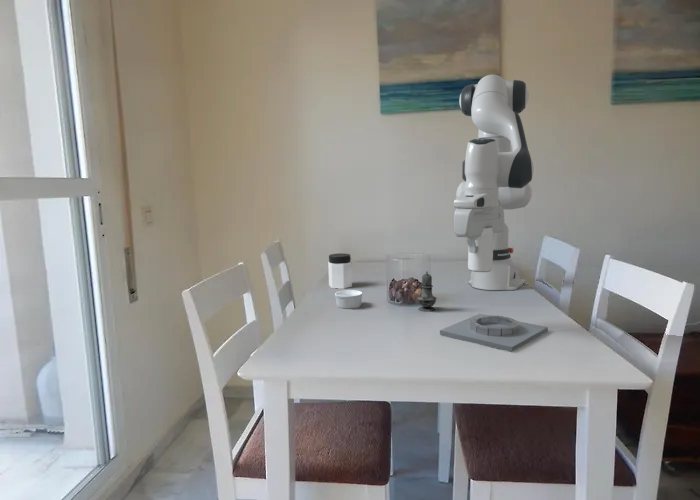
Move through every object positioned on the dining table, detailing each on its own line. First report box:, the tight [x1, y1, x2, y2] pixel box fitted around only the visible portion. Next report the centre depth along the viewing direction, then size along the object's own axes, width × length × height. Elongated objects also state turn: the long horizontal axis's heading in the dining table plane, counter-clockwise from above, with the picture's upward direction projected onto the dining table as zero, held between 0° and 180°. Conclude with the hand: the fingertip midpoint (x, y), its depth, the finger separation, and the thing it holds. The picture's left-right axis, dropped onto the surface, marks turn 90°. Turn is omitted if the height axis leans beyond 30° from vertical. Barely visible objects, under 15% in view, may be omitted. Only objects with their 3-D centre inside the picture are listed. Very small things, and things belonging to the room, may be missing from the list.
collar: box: [470, 314, 519, 336], centre depth 132 cm, size 12×12×2 cm
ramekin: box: [334, 289, 363, 310], centre depth 163 cm, size 9×9×4 cm
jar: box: [327, 253, 353, 290], centre depth 190 cm, size 9×8×12 cm
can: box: [467, 226, 494, 272], centre depth 137 cm, size 6×6×12 cm
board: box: [439, 313, 549, 353], centre depth 132 cm, size 20×20×1 cm
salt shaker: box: [417, 271, 437, 313], centre depth 156 cm, size 6×6×12 cm
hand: (480, 251), depth 137 cm, fingers closed on can, 6 cm apart
